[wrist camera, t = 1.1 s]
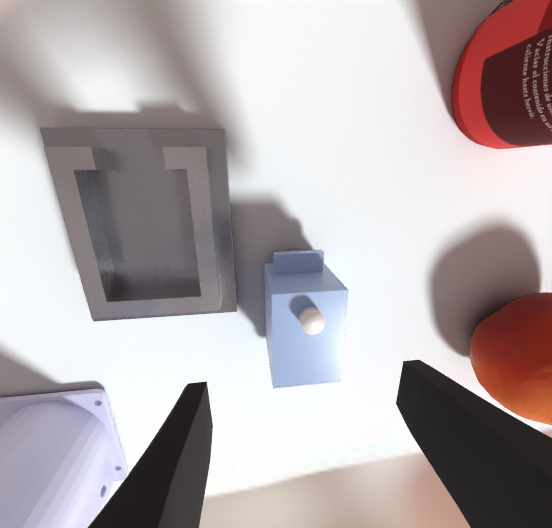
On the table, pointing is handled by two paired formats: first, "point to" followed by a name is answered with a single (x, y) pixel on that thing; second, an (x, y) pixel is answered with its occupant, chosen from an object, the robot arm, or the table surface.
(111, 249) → the mount plate
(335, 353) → the servo
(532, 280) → the table surface
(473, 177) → the table surface
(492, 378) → the tomato
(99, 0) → the table surface
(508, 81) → the canned food
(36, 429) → the robot arm
